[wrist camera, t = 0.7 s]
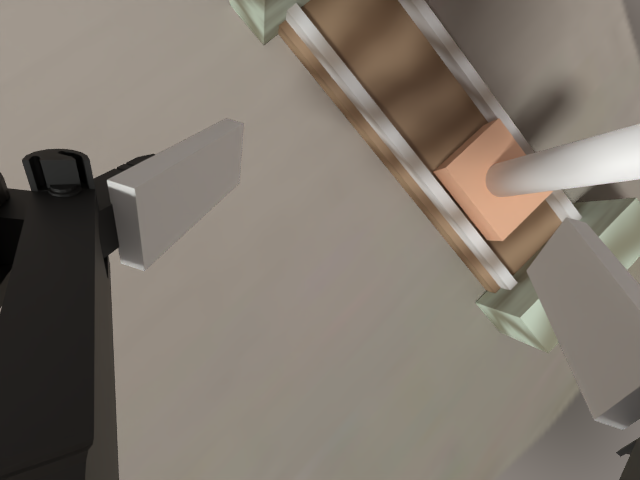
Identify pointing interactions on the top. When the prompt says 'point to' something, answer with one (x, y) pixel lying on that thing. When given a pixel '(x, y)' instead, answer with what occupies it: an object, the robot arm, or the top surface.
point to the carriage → (530, 173)
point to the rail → (433, 135)
